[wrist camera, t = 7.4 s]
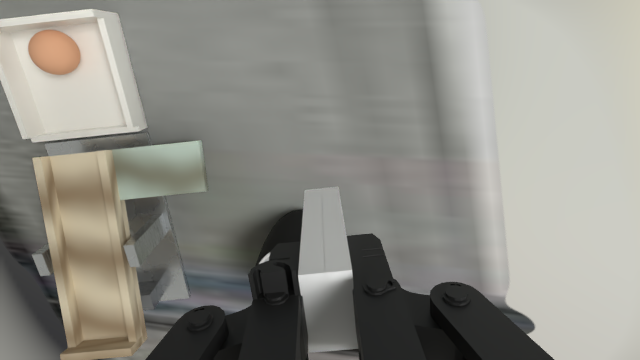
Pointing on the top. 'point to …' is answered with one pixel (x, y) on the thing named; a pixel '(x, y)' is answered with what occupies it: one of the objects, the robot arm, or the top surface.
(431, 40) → the top surface
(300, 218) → the mug
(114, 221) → the wooden ramp
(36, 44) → the ball
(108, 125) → the dish
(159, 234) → the stand
